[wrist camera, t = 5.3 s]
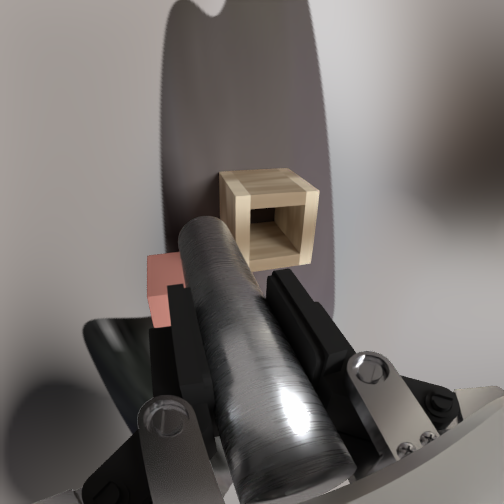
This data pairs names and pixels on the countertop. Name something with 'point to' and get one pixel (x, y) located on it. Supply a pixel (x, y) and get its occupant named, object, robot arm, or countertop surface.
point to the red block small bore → (162, 284)
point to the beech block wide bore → (285, 220)
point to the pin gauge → (257, 379)
